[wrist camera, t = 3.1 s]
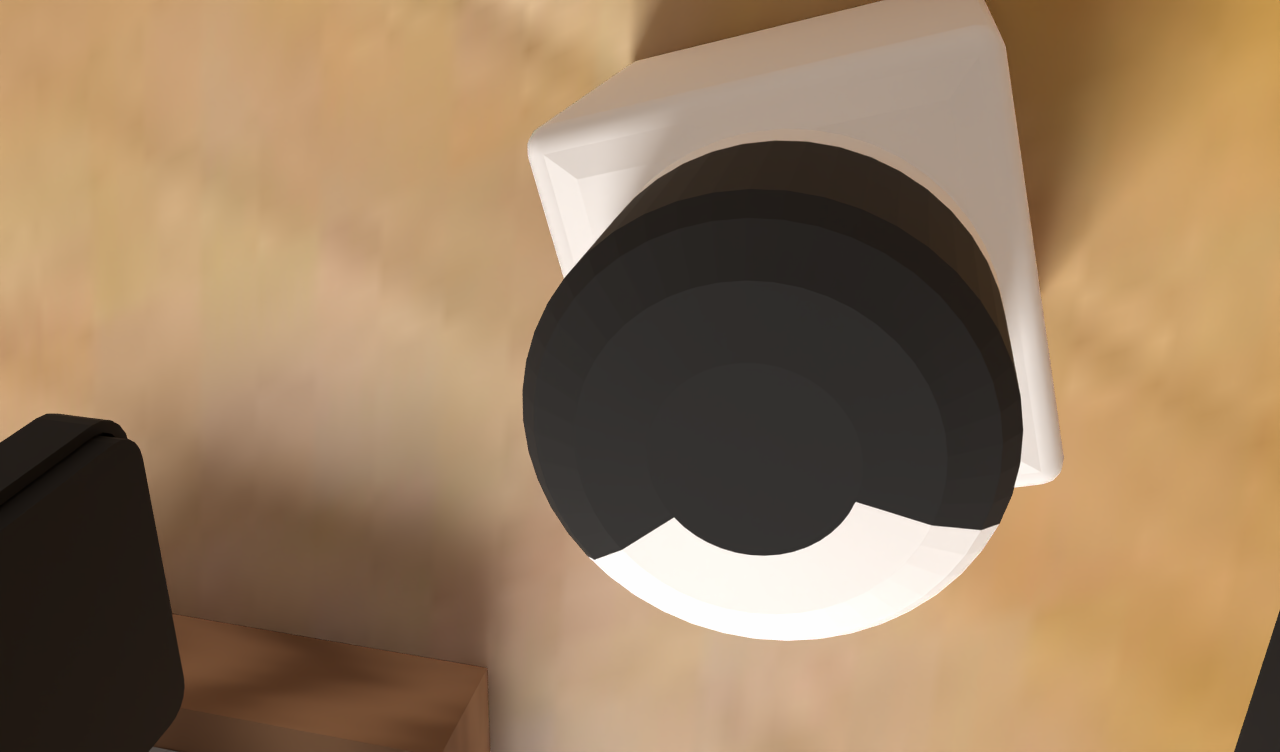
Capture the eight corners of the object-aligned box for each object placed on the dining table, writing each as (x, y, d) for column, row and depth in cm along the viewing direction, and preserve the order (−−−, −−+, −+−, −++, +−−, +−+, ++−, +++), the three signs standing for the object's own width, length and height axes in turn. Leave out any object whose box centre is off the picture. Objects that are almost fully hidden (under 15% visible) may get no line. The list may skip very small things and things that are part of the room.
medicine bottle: (623, 62, 24) (379, 226, 13) (978, -25, 22) (1037, 84, 11) (703, 375, 26) (553, 728, 15) (1029, 323, 24) (1118, 693, 13)
